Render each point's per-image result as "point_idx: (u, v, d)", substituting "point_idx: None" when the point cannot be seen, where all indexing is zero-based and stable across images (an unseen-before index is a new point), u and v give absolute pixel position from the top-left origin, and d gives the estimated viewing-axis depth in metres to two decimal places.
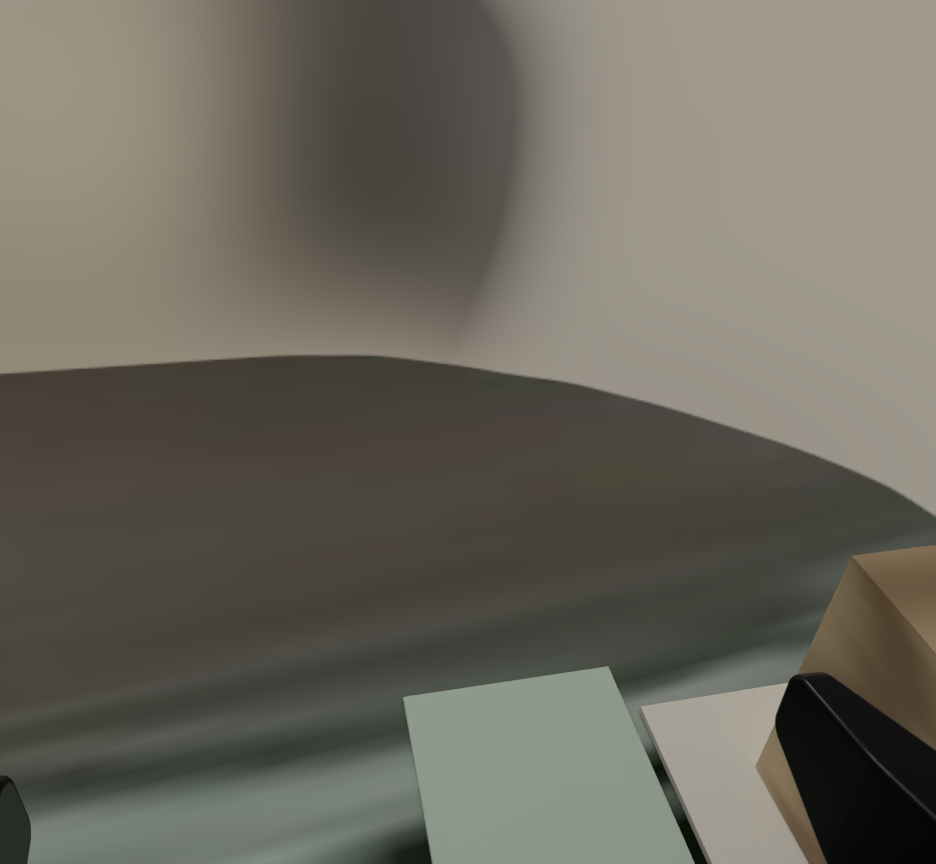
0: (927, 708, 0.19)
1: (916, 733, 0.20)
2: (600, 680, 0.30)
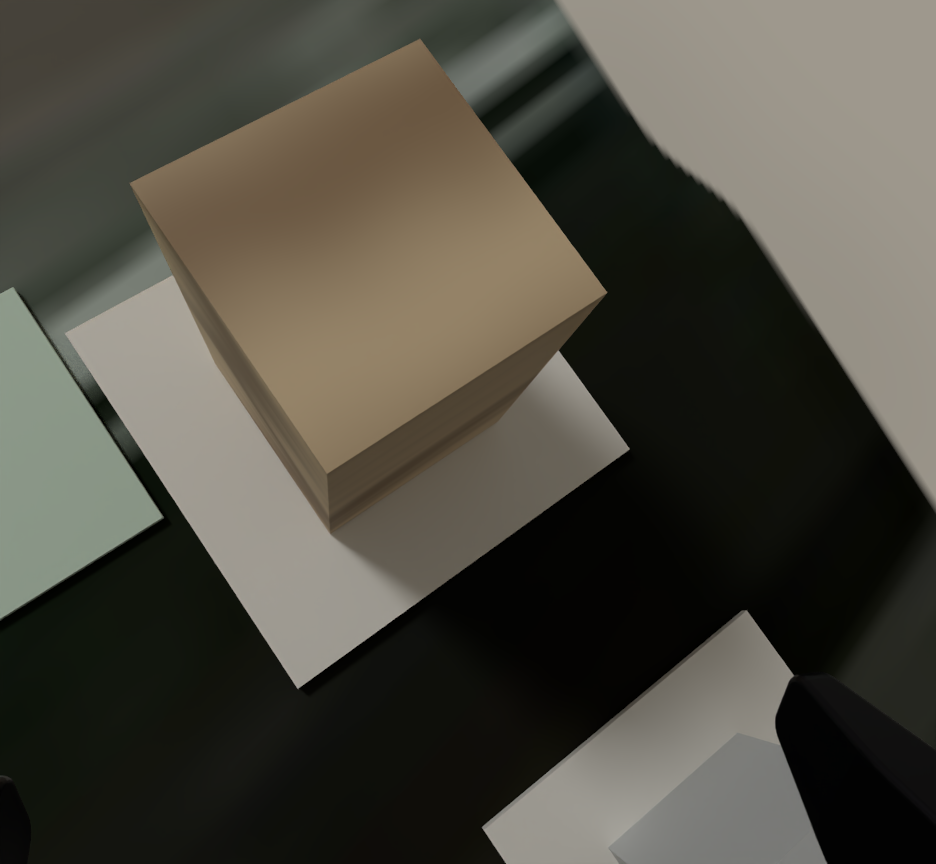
0: (262, 392, 0.14)
1: (269, 408, 0.15)
2: (5, 312, 0.23)
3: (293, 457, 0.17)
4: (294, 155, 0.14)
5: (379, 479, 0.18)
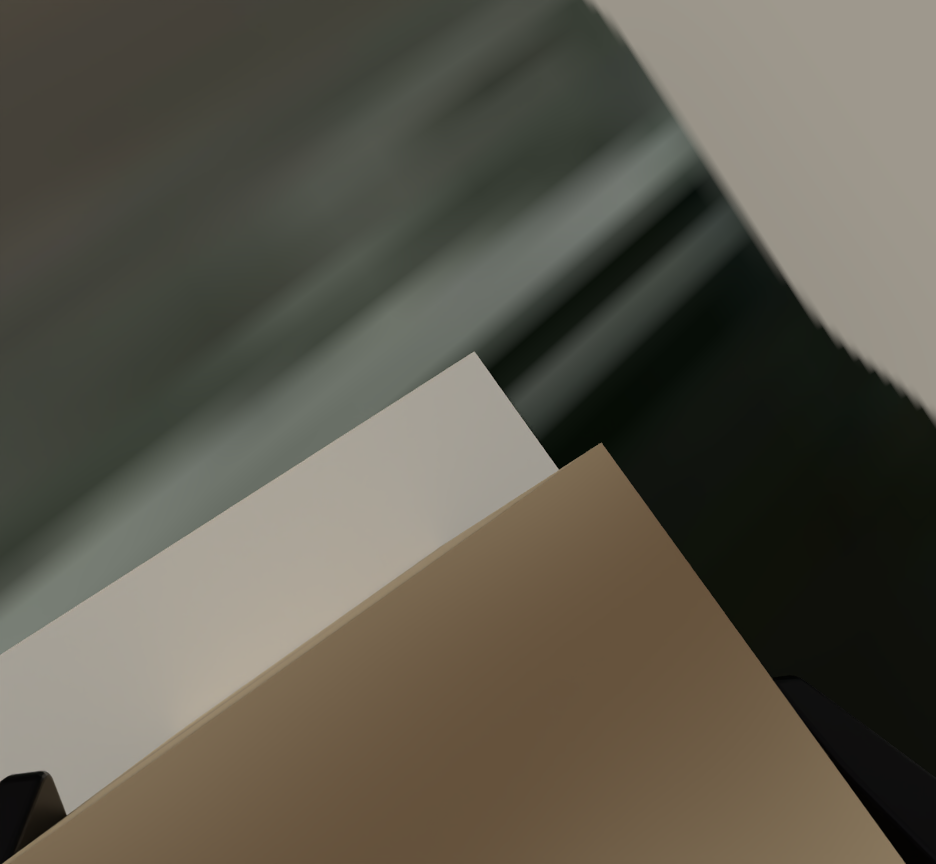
0: None
1: None
2: None
3: None
4: (310, 813, 0.05)
5: None
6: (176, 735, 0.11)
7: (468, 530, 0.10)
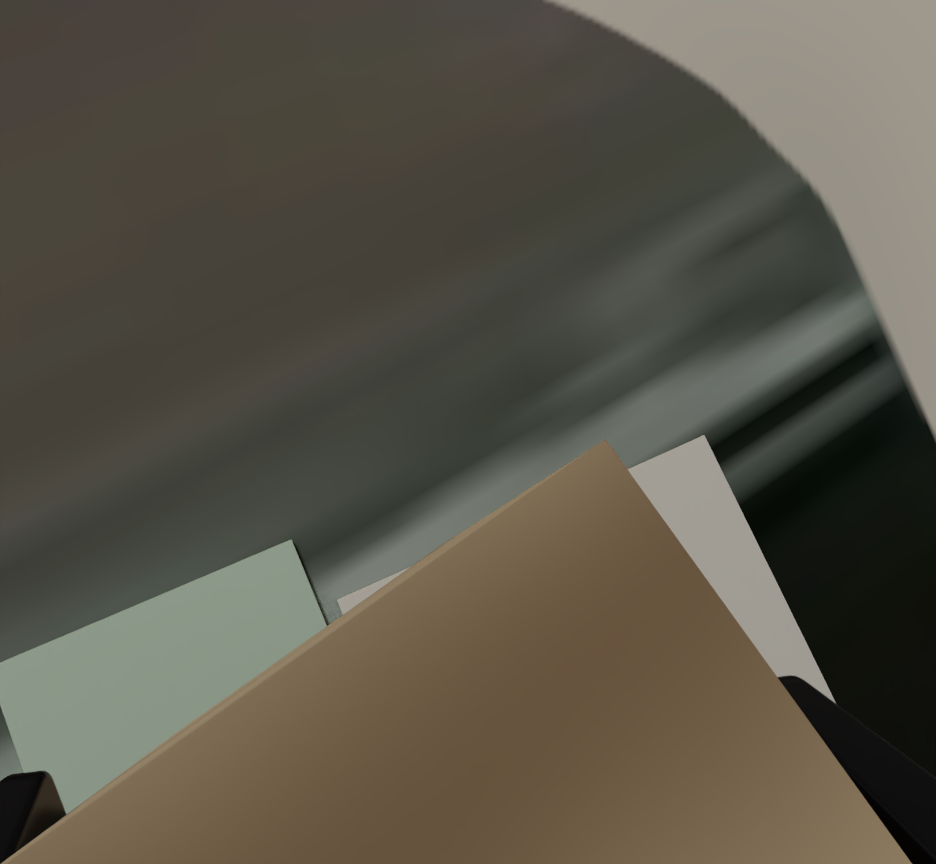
0: None
1: None
2: (281, 566, 0.21)
3: None
4: (317, 807, 0.05)
5: None
6: (179, 732, 0.11)
7: (471, 527, 0.10)
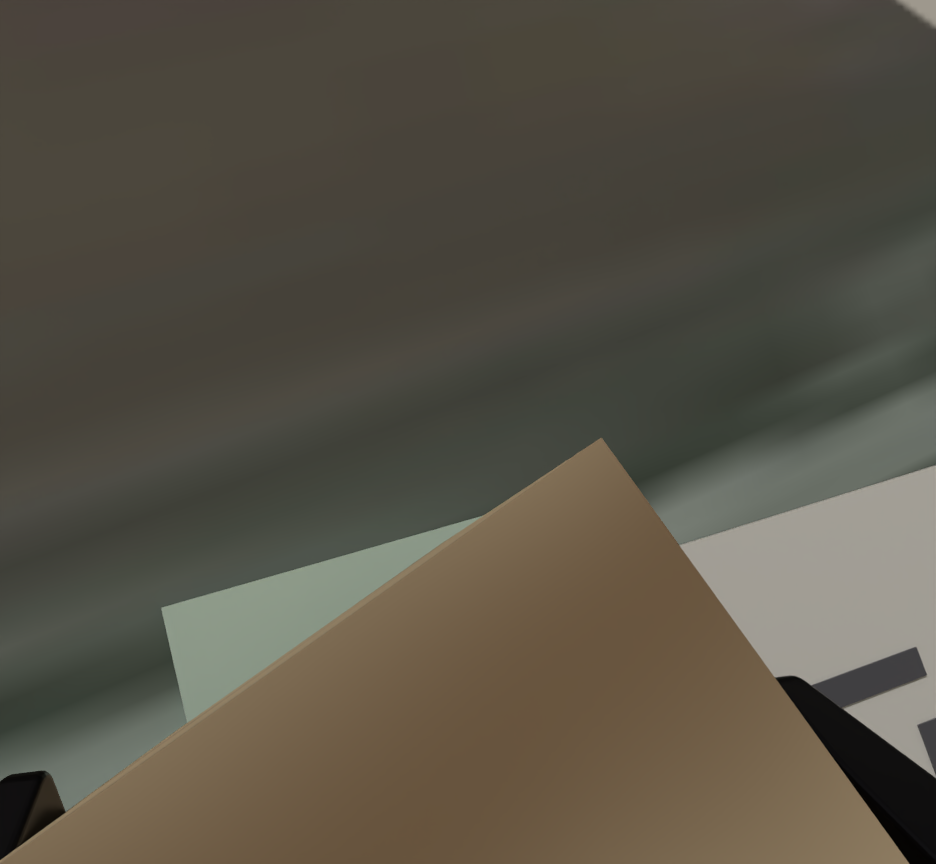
0: None
1: None
2: None
3: None
4: (310, 807, 0.05)
5: None
6: (176, 732, 0.11)
7: (468, 527, 0.10)
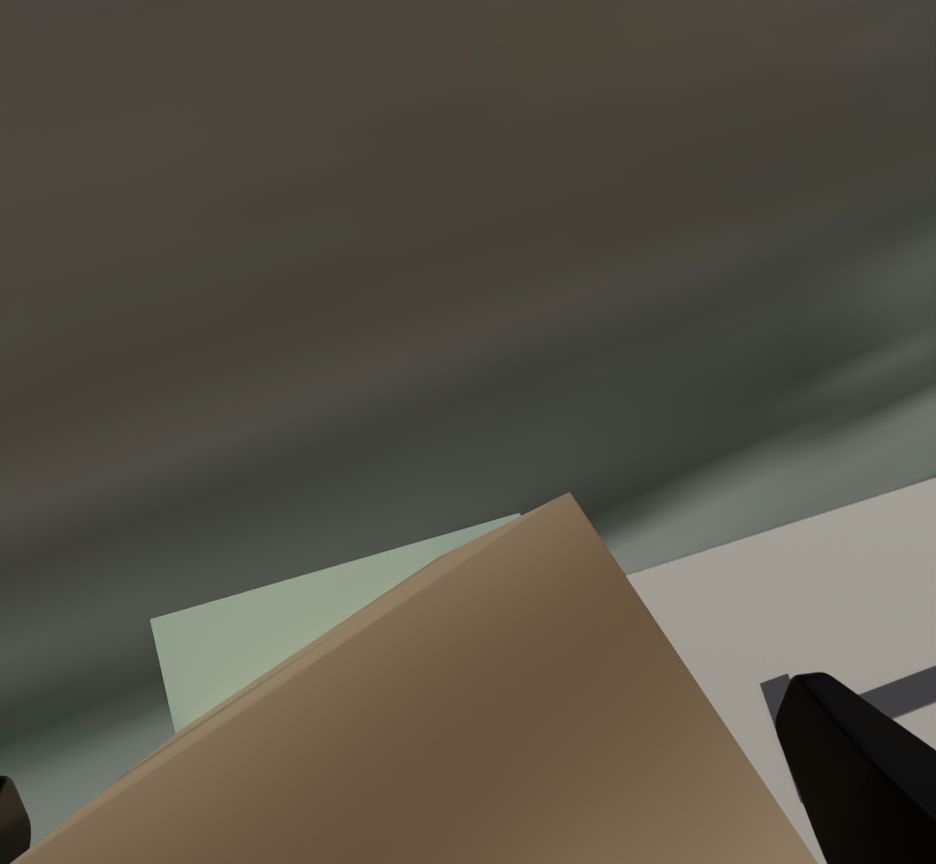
0: None
1: None
2: None
3: None
4: (315, 796, 0.07)
5: None
6: (191, 726, 0.12)
7: (459, 551, 0.11)
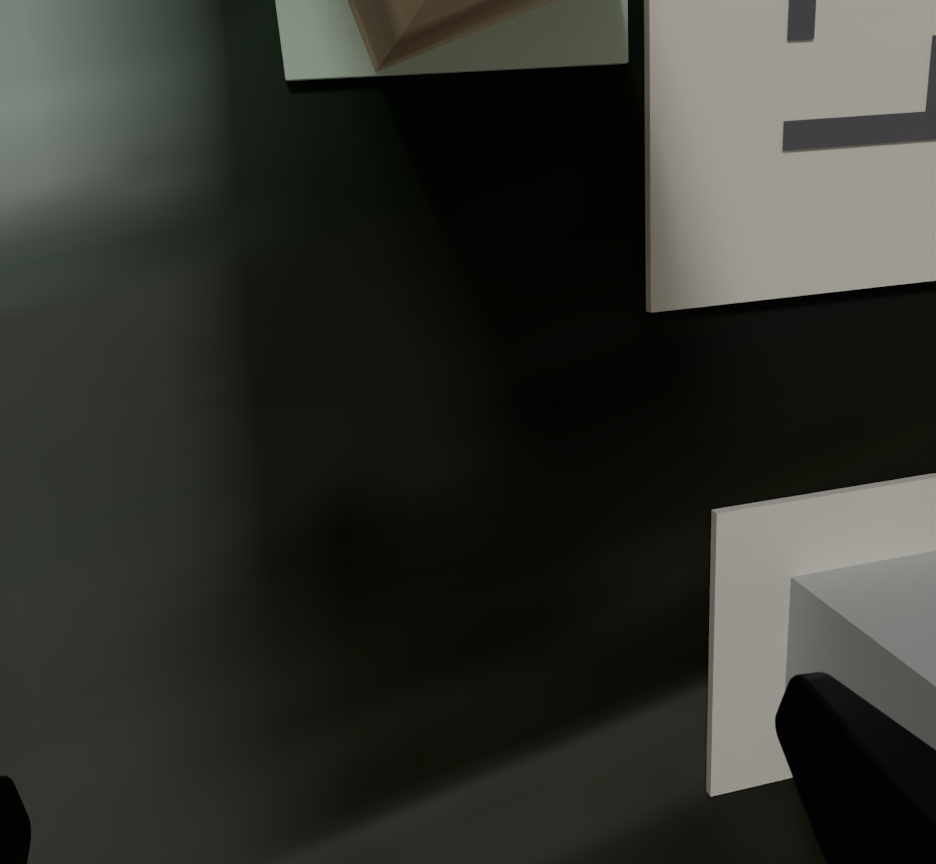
0: None
1: None
2: None
3: None
4: None
5: None
6: None
7: None
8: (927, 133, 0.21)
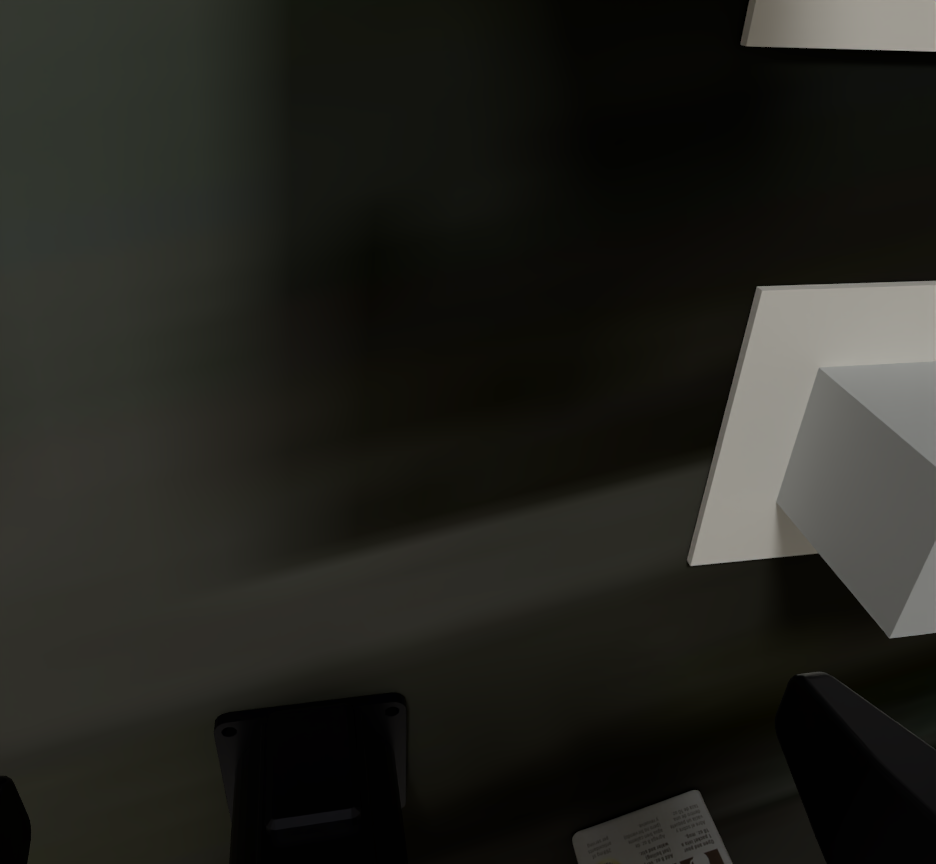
0: None
1: None
2: None
3: None
4: None
5: None
6: None
7: None
8: None
